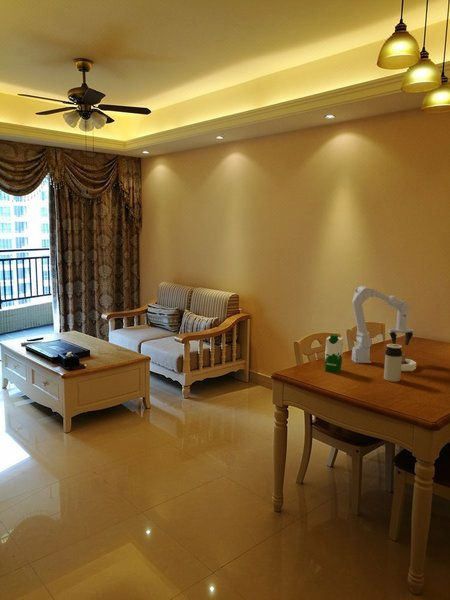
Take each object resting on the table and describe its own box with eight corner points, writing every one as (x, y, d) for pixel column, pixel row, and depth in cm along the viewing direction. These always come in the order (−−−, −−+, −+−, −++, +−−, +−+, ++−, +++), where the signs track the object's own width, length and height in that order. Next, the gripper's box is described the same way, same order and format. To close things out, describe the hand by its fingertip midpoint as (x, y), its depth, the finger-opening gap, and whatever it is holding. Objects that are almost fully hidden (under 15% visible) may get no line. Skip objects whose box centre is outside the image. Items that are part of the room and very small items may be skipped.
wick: (404, 367, 260) (405, 354, 259) (401, 367, 260) (402, 354, 259) (401, 365, 264) (402, 353, 263) (398, 365, 264) (399, 353, 262)
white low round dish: (419, 370, 255) (419, 364, 255) (394, 370, 254) (395, 364, 254) (407, 363, 269) (408, 357, 269) (384, 363, 268) (384, 357, 268)
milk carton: (323, 371, 251) (324, 335, 248) (326, 367, 259) (328, 332, 256) (339, 373, 247) (341, 337, 244) (342, 369, 255) (344, 333, 252)
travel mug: (403, 381, 236) (405, 347, 233) (388, 382, 235) (391, 347, 232) (394, 377, 244) (397, 343, 241) (380, 377, 242) (383, 343, 240)
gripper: (392, 323, 266) (391, 346, 268) (417, 323, 267) (415, 346, 269) (387, 321, 273) (386, 343, 275) (411, 321, 274) (409, 343, 276)
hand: (400, 344), depth 272 cm, fingers open, 7 cm apart
